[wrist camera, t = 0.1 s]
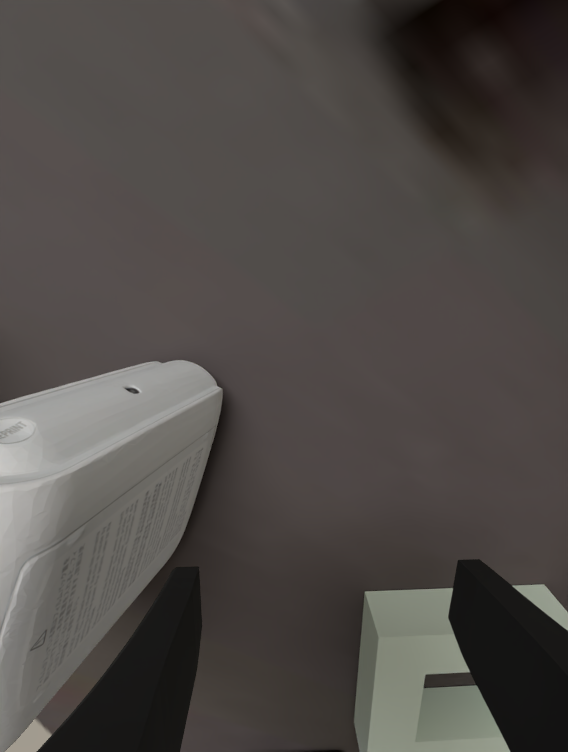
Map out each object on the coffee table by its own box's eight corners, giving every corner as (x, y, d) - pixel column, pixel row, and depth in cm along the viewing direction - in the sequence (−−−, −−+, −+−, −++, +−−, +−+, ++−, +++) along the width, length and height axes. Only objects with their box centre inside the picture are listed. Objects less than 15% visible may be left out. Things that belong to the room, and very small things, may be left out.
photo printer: (155, 343, 19) (-220, 429, 7) (238, 376, 18) (-33, 529, 7) (112, 522, 22) (-208, 789, 10) (183, 557, 21) (-75, 887, 10)
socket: (512, 712, 28) (540, 765, 25) (353, 722, 28) (364, 776, 25) (544, 584, 25) (580, 628, 22) (364, 591, 24) (378, 637, 21)
